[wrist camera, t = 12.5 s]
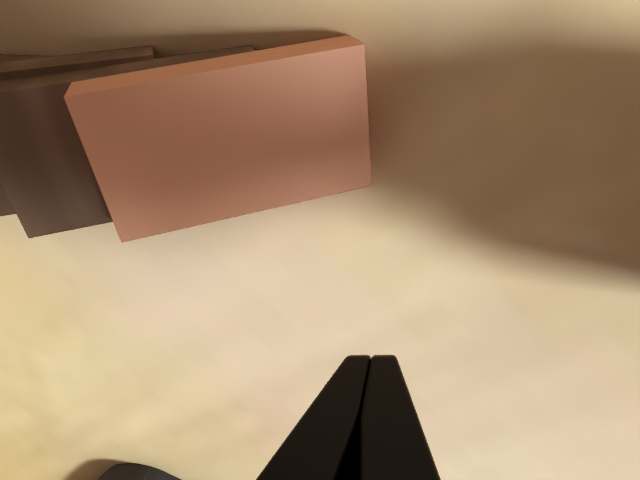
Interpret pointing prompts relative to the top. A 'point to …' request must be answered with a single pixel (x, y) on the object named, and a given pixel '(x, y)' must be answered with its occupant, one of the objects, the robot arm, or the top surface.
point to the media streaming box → (135, 473)
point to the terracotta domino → (226, 134)
